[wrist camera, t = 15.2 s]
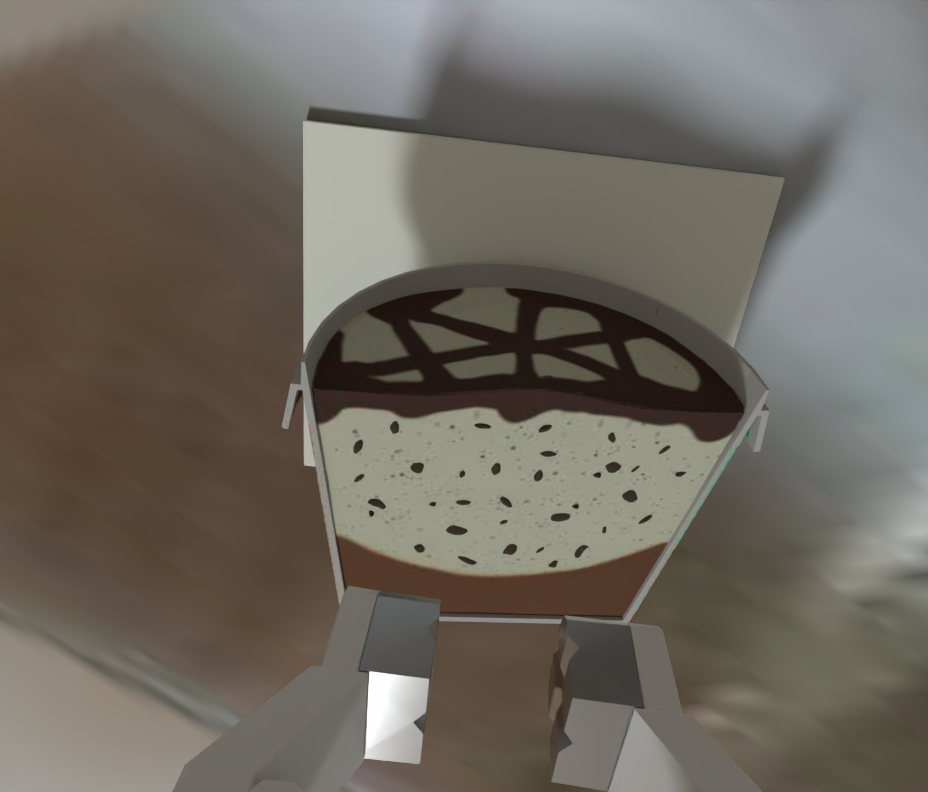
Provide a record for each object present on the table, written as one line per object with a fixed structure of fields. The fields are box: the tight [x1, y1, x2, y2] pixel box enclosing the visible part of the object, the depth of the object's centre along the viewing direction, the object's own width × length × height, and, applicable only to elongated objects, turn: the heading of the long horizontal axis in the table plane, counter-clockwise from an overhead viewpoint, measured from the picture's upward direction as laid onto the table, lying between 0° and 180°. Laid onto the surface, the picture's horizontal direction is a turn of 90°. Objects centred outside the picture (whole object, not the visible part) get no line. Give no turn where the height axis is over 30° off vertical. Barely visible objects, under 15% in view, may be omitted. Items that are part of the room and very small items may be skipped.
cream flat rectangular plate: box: [303, 120, 785, 467], centre depth 23 cm, size 14×12×1 cm
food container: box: [282, 261, 770, 624], centre depth 22 cm, size 12×6×10 cm
